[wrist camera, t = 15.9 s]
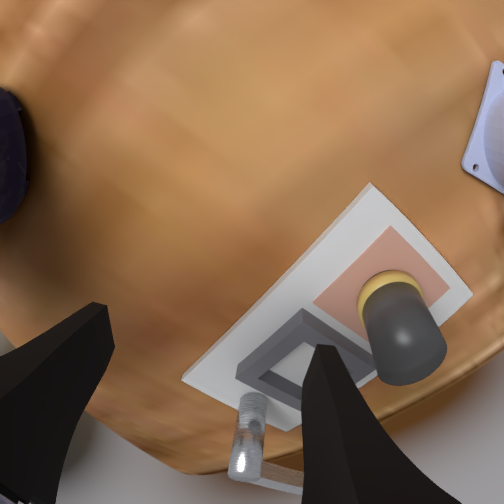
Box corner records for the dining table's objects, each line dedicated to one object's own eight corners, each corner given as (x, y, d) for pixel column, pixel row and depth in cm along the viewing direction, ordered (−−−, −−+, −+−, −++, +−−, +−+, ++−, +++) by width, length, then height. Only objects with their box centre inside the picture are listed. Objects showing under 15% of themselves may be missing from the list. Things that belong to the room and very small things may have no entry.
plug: (426, 272, 19) (463, 331, 13) (402, 324, 21) (427, 388, 15) (367, 261, 19) (393, 325, 13) (346, 318, 21) (360, 386, 15)
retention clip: (234, 402, 26) (221, 475, 19) (249, 389, 25) (238, 468, 18) (342, 442, 28) (346, 503, 22) (359, 432, 27) (366, 496, 20)
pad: (390, 224, 18) (391, 226, 17) (449, 286, 19) (450, 288, 19) (312, 301, 21) (312, 303, 20) (378, 347, 22) (379, 349, 22)
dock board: (369, 181, 17) (380, 193, 15) (469, 288, 20) (482, 306, 18) (183, 373, 26) (176, 393, 24) (286, 425, 29) (286, 444, 27)
